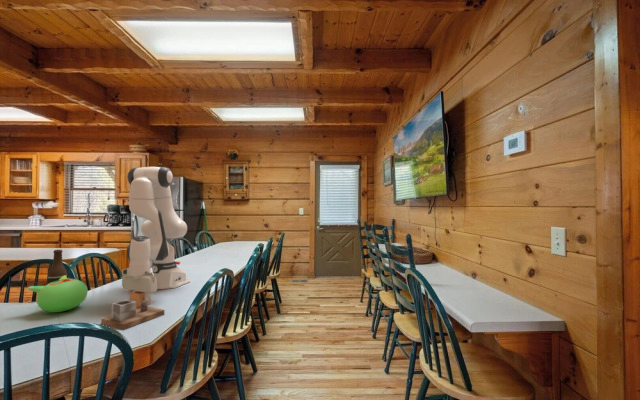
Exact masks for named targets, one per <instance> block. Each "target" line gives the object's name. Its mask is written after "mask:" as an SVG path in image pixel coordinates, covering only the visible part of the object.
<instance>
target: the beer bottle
mask: <svg viewBox="0 0 640 400" xmlns="http://www.w3.org/2000/svg"><path fill="white" fill-rule="evenodd" d="M52 258H53V259H52V266H51V267H50V268H49V270H48V272H47V284H49V283H51V282H54V281H57V280H59V279H60V278H61V277H62V276H64V275H66V276H67V277H68V270H67V269H66V267H65V266H64V264H63V263H64V262H63V249H55V250H53V257H52Z"/></svg>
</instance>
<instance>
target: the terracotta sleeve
mask: <svg viewBox="0 0 640 400" xmlns="http://www.w3.org/2000/svg"><path fill="white" fill-rule="evenodd" d="M143 298H145V292H140V291H134V292H132V293H130V295H129V300H130V301H135V302H136V307H139V306H141V301H143ZM150 304H151V295H150V296H149V301H147V306H148V305H150Z"/></svg>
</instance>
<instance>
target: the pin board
mask: <svg viewBox="0 0 640 400" xmlns="http://www.w3.org/2000/svg"><path fill="white" fill-rule="evenodd" d="M163 315H165V309H162V308H157V307H154V306H148V305H147V301H141V306H139V307H136V302H135V301H130V299H124V300H120V301H117V302H113V303H111V314H110V315H107V316H105V317H102V318H100V324H101V323H104V324H103V325H105V326H109V325H110V326H109V327H113V328H117V329H121V330H126V329H129V328H133V327H134V326H137V325H140V324H143V323H146V322H147V321H151V320H154V319H156V318H158V317H162V316H163Z"/></svg>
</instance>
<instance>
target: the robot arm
mask: <svg viewBox="0 0 640 400" xmlns="http://www.w3.org/2000/svg"><path fill="white" fill-rule="evenodd" d="M173 180H174V175H173V172H172V170H171V169H170V168H169V167H166V166H144V167H137V166H136V167H133V168H131V169H130V170H129V171H128V173H127V181H128V183H129V185H130V187H129V195H128V207H129V211H130V213H132V214H133V215H134V216H136V217H138V218H141V219H144V220H145V221H144V222H143V223H142V224H141V233H142V235H138V236H134V237H132V238H131V241H130V244H129V245H127V247H126V258H127V260H129V266H128V267H127V268H124V269H122V270H121V274H122V277H121V286H122V289H124V290H127V292H128V294H129V296H130V293H132V292H136V291H140V292H145V298H143V301H149V296H150V297H151V294H153V293H156V292H157V290H166V289H176V288H178V287H181V286H184V285H186V284H189V283H191V280H190V279H189V278H187V275H186V272H185V271H184V270H182V269H180V268H179V267H178V266H179V265H181V261H178V260H177V261H175V248H174V246H173V245H172V244H170V243H169V242H168V240H167V239H180V238H183V237H184V236H186V234H187V233H188V225H187V223H186V222H185V221H184V220H182V219H181V218H180V216H179V215H178V214H177V213H176V211H175V208H174V205H173V204H174V203H173V198H172V197H173V196H172V191H171V187H170V186H171V185H172V183H173ZM151 261H152V263H151ZM151 264H152V265H151ZM151 268H152V272H151Z"/></svg>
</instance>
